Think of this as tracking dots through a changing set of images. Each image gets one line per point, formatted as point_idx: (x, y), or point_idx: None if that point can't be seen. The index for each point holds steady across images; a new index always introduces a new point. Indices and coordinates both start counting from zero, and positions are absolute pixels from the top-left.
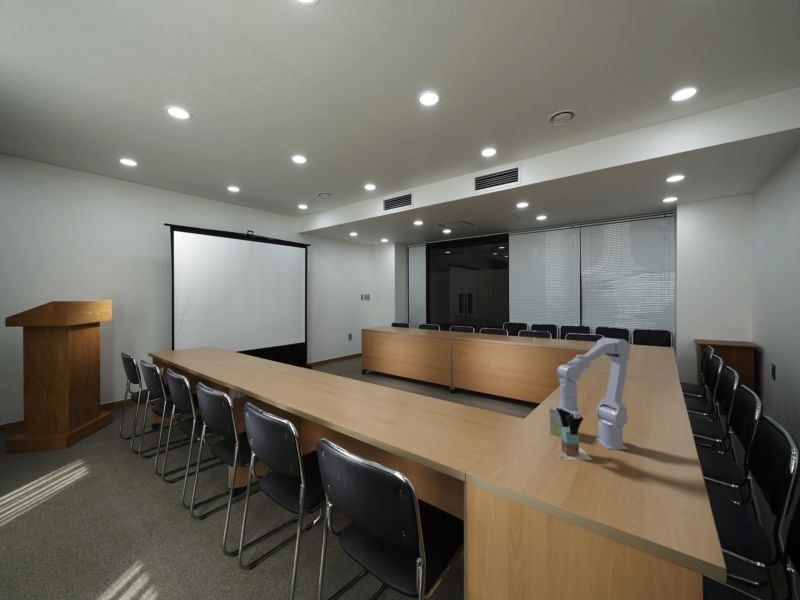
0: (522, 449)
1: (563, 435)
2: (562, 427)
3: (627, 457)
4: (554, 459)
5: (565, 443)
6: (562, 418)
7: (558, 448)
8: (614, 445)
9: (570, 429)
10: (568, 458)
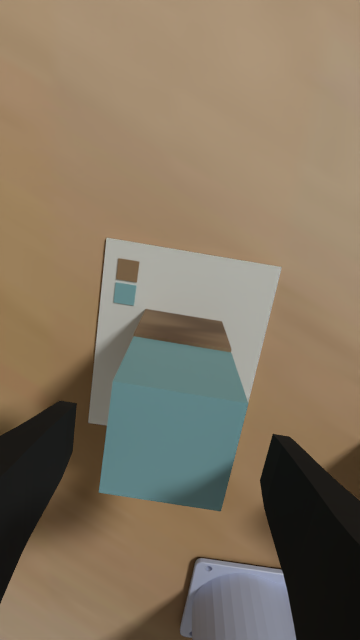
0: (296, 22)
1: (195, 364)
2: (240, 409)
3: (109, 580)
4: (111, 203)
5: (150, 334)
6: (314, 505)
7: (250, 314)
8: (197, 604)
9: (27, 421)
10: (108, 299)
